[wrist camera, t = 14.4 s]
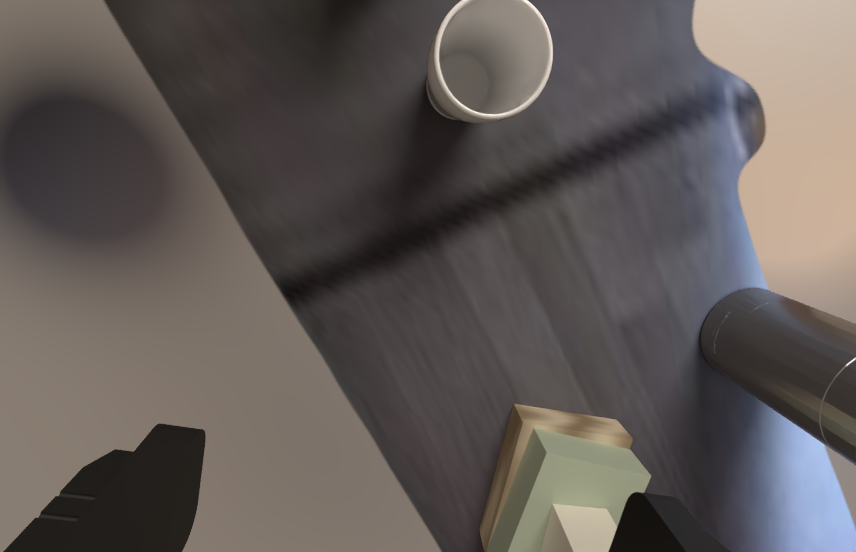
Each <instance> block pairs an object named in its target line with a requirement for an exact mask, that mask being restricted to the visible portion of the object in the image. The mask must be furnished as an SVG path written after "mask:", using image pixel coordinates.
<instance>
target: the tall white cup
mask: <svg viewBox="0 0 856 552" xmlns="http://www.w3.org/2000/svg"><path fill="white" fill-rule="evenodd" d="M552 60H553V46H552V39H551V35H550V32H549V29H548V26H547V24H546V22H545V20H544V18H543V17H542V15H541V14H540V12H539V11H538V10H537V9H536V8H535V7H534V6H533V5H532V4H531V3H530V2H529V1H527V0H461V1H460V2H459V3H458V4H456V5H455V6H454V7H453V8H452V9H451V10H450V12H449V13H448V14H447V16H446V17H445V19H444V20H443V22H442V23H441V24H440V26H439V28H438V30H437V32H436V33H435V36H434V38H433V40H432V43H431V46H430V50H429V54H428V61H427V82H426V90H427V95H428V98H429V101H430V103H431V105H432V106H433V107H434V109H435V110H436V111H437V112H438V113H439V114H441V115H442V116H444V117H446V118H449V119H452V120H461V121H464V122H468V123H476V124H484V123H492V122H497V121H500V120H504V119H506V118H509V117H511V116H513V115H515V114H517V113H519V112H521V111H523V110H524V109H526V108H527V107H528V106H529V105H530V104H532V103H533V102H534V101H535V99H536V98H537V97H538V96H539V94H540V93H541V92H542V90H543V88H544V87H545V85H546V82H547V80H548V78H549V75H550V71H551V67H552Z"/></svg>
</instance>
